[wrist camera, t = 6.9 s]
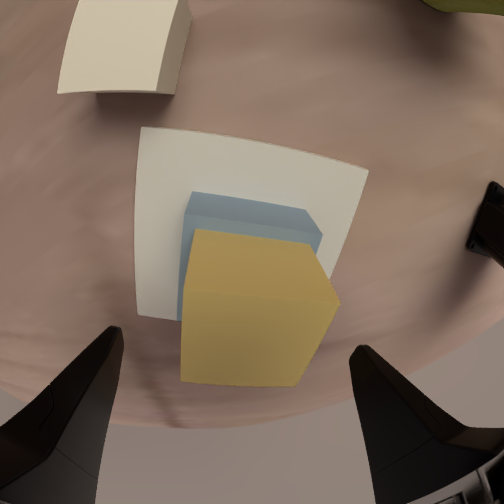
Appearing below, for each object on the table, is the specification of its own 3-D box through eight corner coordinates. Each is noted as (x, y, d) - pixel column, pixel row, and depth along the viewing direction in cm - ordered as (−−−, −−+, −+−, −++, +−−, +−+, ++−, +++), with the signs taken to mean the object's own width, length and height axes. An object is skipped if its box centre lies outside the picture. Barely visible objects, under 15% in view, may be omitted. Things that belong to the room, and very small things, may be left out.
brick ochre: (309, 244, 12) (340, 302, 9) (281, 324, 14) (295, 386, 11) (195, 228, 11) (183, 288, 8) (187, 316, 14) (180, 381, 10)
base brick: (305, 209, 14) (322, 234, 12) (277, 296, 17) (286, 330, 15) (192, 191, 13) (184, 213, 11) (182, 286, 16) (176, 320, 14)
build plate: (362, 167, 14) (368, 170, 14) (303, 323, 20) (306, 331, 19) (145, 125, 12) (141, 126, 11) (140, 307, 18) (137, 314, 17)
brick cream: (193, 17, 9) (182, -12, 6) (175, 94, 12) (155, 90, 8) (112, 19, 9) (79, -1, 5) (96, 93, 11) (57, 93, 7)
